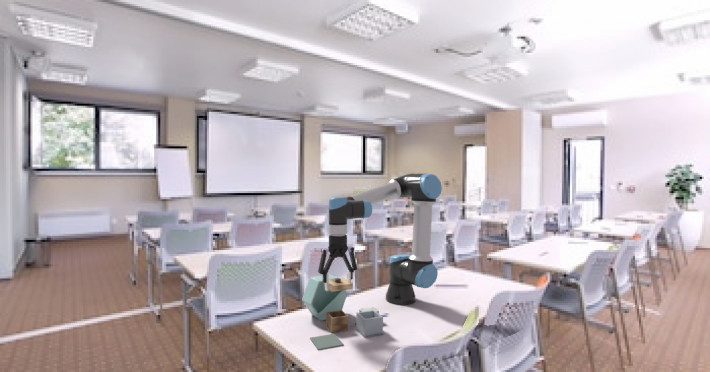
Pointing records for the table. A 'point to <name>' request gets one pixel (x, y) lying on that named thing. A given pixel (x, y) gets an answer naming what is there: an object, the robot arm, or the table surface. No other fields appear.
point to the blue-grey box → (369, 323)
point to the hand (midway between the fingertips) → (337, 288)
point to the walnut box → (336, 321)
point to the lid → (339, 284)
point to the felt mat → (326, 341)
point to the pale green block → (368, 309)
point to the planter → (322, 298)
